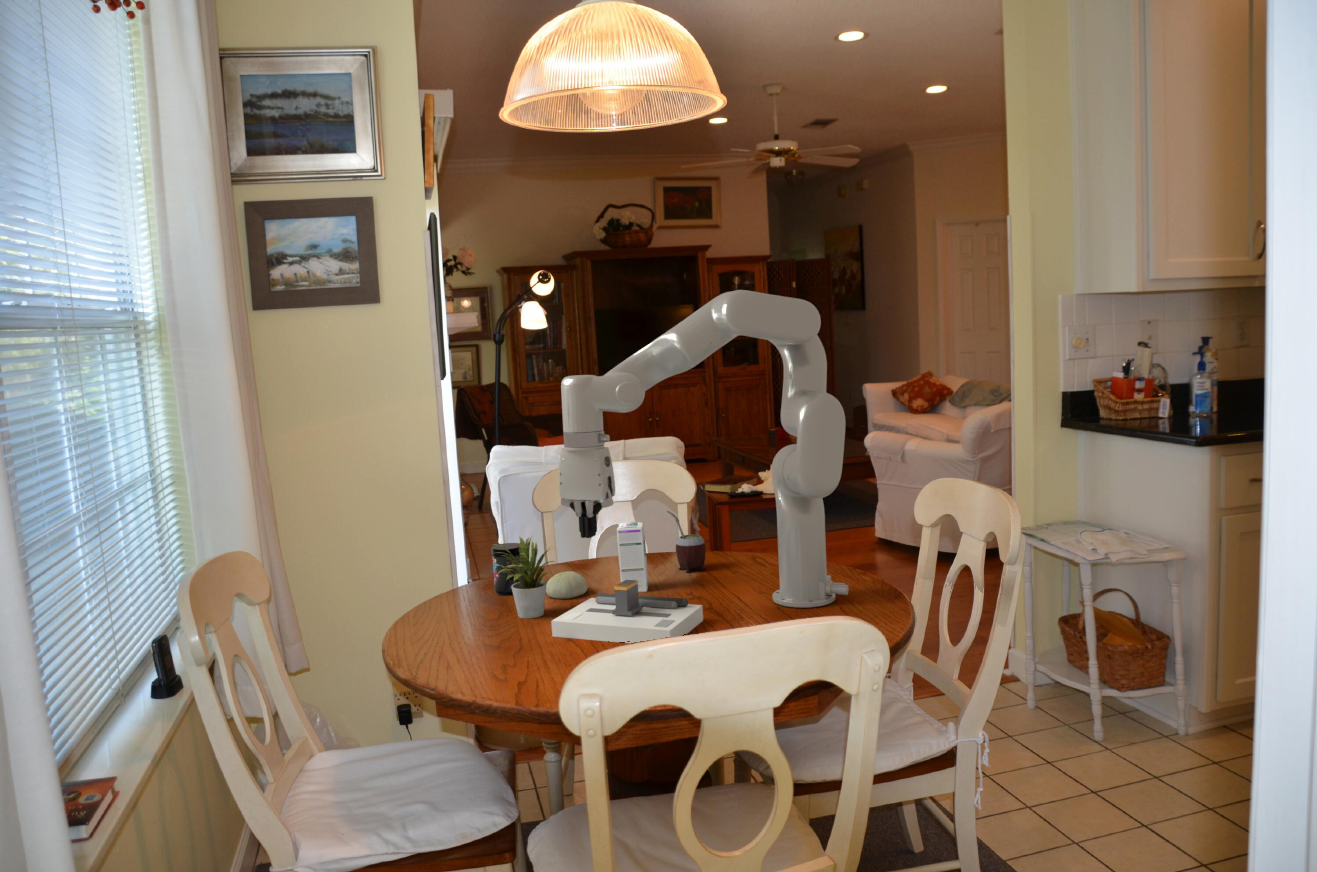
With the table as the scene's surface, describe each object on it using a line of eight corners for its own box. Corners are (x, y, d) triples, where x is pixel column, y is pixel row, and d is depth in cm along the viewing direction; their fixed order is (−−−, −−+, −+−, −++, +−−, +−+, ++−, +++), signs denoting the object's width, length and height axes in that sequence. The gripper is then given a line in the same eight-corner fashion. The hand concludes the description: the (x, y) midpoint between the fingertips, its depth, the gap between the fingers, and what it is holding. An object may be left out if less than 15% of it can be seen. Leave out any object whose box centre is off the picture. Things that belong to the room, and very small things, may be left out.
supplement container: (510, 586, 212) (507, 541, 211) (531, 589, 208) (528, 544, 207) (488, 593, 207) (484, 547, 206) (509, 597, 203) (506, 550, 202)
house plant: (485, 610, 194) (479, 533, 192) (549, 600, 199) (544, 524, 197) (501, 628, 180) (495, 545, 179) (569, 616, 186) (564, 536, 184)
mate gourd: (710, 567, 220) (707, 504, 219) (700, 575, 213) (696, 510, 211) (681, 566, 223) (677, 504, 222) (669, 574, 216) (666, 510, 214)
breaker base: (703, 620, 178) (701, 596, 178) (670, 646, 164) (669, 621, 163) (592, 612, 188) (590, 589, 188) (552, 636, 174) (550, 612, 173)
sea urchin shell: (535, 591, 199) (546, 559, 204) (549, 610, 205) (560, 578, 210) (573, 593, 196) (583, 561, 201) (586, 612, 202) (596, 580, 206)
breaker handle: (643, 608, 177) (641, 580, 177) (631, 615, 172) (629, 587, 172) (624, 606, 179) (622, 579, 178) (612, 614, 174) (610, 586, 174)
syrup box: (647, 592, 201) (643, 526, 200) (620, 593, 201) (616, 527, 200) (648, 585, 207) (644, 521, 205) (621, 586, 207) (618, 522, 206)
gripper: (628, 438, 176) (632, 534, 177) (559, 438, 182) (563, 531, 183) (610, 443, 169) (615, 542, 171) (539, 442, 175) (544, 538, 177)
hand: (588, 536), depth 177 cm, fingers closed
